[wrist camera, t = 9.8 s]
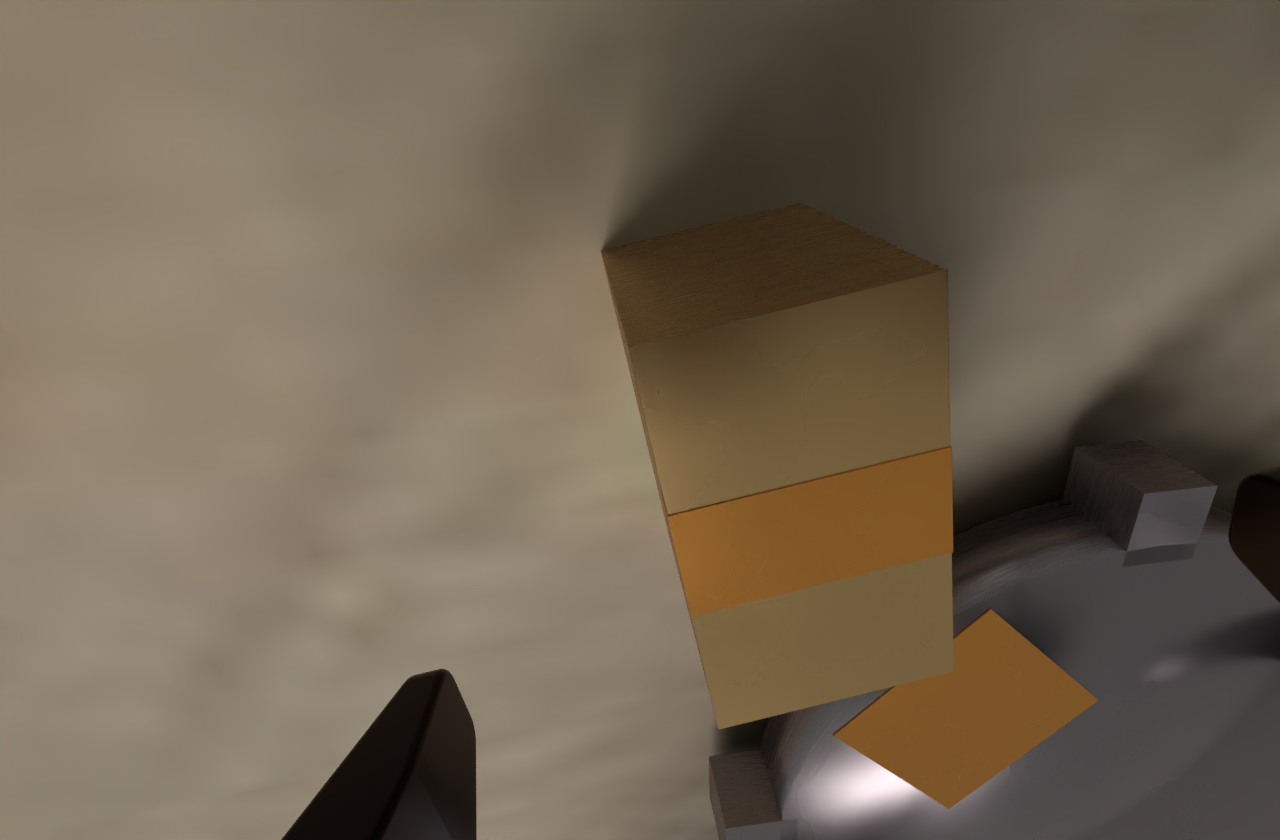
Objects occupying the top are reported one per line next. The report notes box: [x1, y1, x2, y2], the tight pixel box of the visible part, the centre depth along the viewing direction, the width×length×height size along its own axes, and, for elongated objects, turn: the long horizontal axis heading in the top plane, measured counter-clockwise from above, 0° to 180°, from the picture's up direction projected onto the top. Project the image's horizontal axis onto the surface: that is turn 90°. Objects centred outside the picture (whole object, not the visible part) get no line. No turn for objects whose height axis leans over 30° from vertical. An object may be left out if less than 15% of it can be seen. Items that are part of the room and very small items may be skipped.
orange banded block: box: [601, 203, 954, 729], centre depth 11 cm, size 6×4×5 cm, turn 12°
